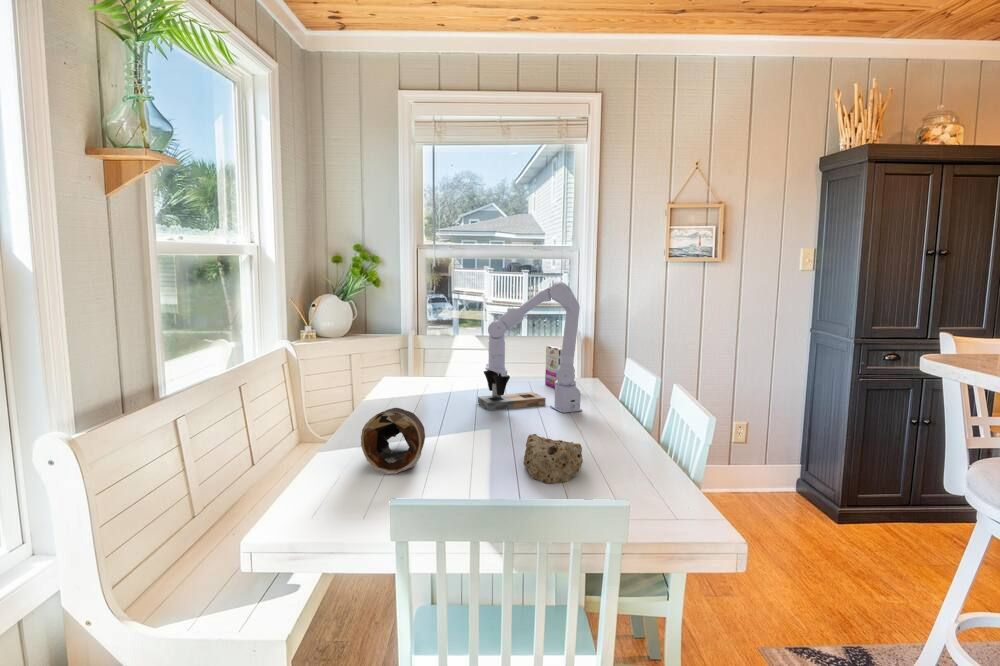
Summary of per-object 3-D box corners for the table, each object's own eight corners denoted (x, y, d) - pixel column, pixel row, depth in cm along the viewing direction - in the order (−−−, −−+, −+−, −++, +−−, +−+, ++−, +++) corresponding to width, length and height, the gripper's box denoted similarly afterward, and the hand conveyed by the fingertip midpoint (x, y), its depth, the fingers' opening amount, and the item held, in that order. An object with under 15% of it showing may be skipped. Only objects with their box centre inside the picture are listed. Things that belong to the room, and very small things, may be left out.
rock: (517, 459, 158) (526, 423, 158) (569, 472, 159) (578, 436, 159) (523, 480, 138) (533, 438, 138) (583, 494, 138) (594, 453, 138)
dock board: (545, 404, 213) (545, 398, 213) (488, 410, 204) (488, 403, 204) (533, 398, 222) (533, 392, 222) (477, 403, 214) (477, 396, 213)
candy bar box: (569, 389, 239) (570, 348, 237) (558, 390, 237) (559, 349, 235) (555, 383, 249) (556, 344, 247) (544, 384, 247) (545, 345, 245)
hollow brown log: (427, 400, 168) (418, 406, 143) (434, 455, 167) (426, 470, 142) (374, 407, 168) (356, 414, 143) (381, 462, 167) (364, 478, 142)
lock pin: (502, 406, 210) (502, 384, 209) (494, 407, 209) (494, 384, 208) (498, 404, 213) (499, 382, 212) (490, 404, 212) (490, 382, 211)
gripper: (478, 352, 214) (478, 389, 215) (494, 358, 200) (493, 398, 202) (496, 351, 216) (496, 387, 218) (513, 357, 203) (512, 396, 205)
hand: (496, 392), depth 210 cm, fingers open, 7 cm apart
